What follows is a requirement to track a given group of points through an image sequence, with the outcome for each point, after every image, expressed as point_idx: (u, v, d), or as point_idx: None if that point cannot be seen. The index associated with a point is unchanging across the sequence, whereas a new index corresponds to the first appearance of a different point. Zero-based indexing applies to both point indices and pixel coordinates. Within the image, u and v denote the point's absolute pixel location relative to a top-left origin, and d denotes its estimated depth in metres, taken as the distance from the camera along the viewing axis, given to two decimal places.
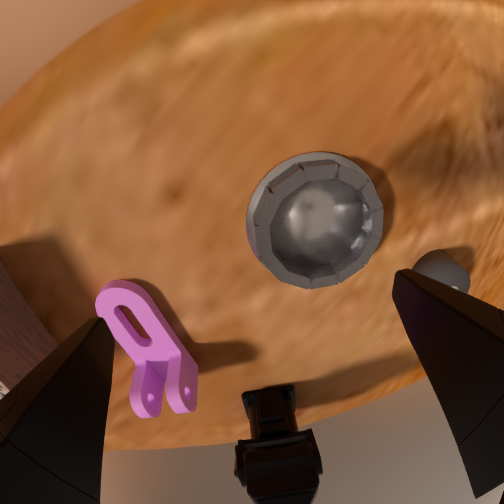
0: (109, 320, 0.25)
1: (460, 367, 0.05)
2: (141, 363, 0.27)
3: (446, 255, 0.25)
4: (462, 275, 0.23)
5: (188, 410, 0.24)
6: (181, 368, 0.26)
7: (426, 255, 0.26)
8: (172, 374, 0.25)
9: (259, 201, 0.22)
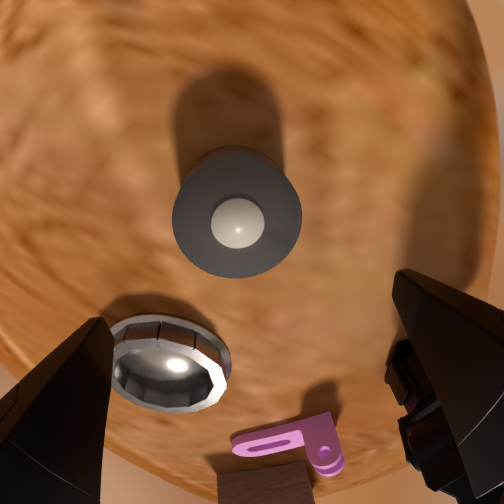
0: (261, 453, 0.32)
1: (460, 367, 0.05)
2: None
3: None
4: (186, 206, 0.13)
5: (331, 463, 0.24)
6: (306, 442, 0.27)
7: None
8: None
9: None
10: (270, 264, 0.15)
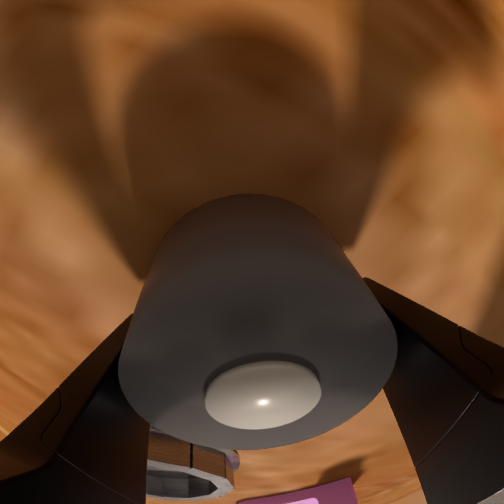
0: None
1: (413, 387, 0.05)
2: None
3: None
4: (146, 372, 0.05)
5: None
6: None
7: None
8: None
9: None
10: (318, 432, 0.07)
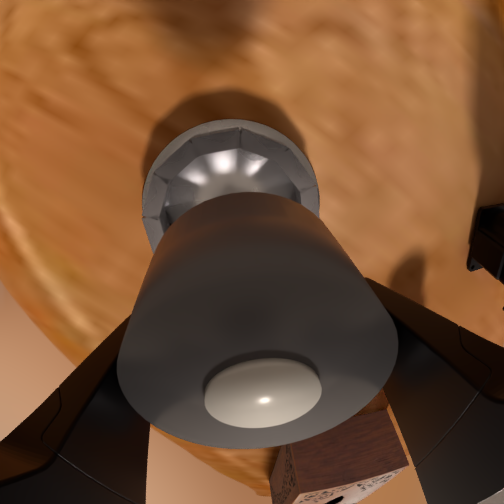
0: None
1: (413, 387, 0.05)
2: None
3: None
4: (145, 370, 0.05)
5: None
6: None
7: None
8: None
9: None
10: (318, 431, 0.07)
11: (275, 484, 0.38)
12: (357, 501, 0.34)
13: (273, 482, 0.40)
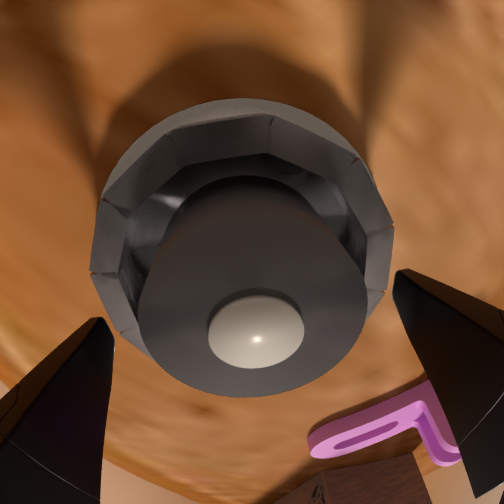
0: (350, 449, 0.20)
1: (460, 367, 0.05)
2: (416, 424, 0.19)
3: None
4: (161, 308, 0.07)
5: None
6: (435, 416, 0.15)
7: None
8: (434, 428, 0.15)
9: None
10: (306, 379, 0.09)
11: None
12: None
13: None
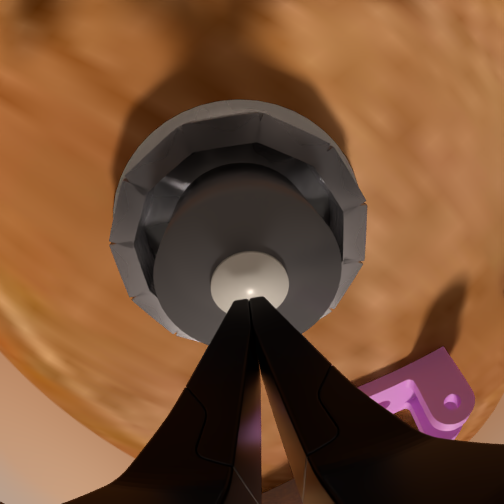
0: None
1: (281, 423, 0.05)
2: (408, 405, 0.21)
3: None
4: (173, 262, 0.09)
5: (466, 417, 0.14)
6: (424, 394, 0.17)
7: None
8: (424, 406, 0.17)
9: None
10: None
11: None
12: None
13: None
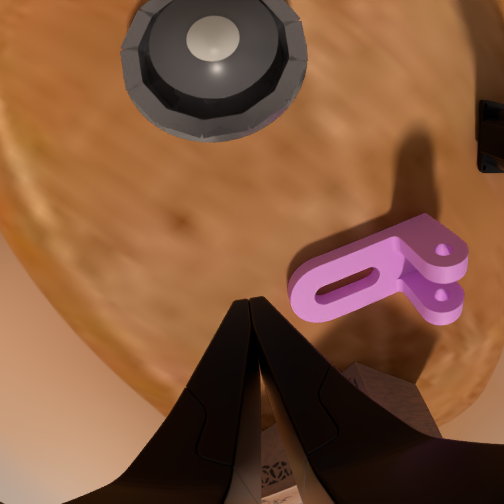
0: (334, 310, 0.23)
1: (281, 423, 0.05)
2: (401, 284, 0.22)
3: None
4: (164, 26, 0.10)
5: (462, 261, 0.15)
6: (411, 245, 0.18)
7: None
8: (414, 260, 0.18)
9: None
10: (248, 82, 0.12)
11: None
12: None
13: None
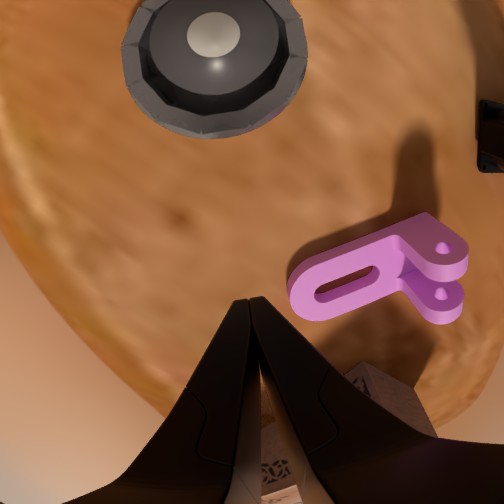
0: (334, 309, 0.23)
1: (281, 423, 0.05)
2: (401, 283, 0.22)
3: None
4: (165, 22, 0.10)
5: (463, 259, 0.15)
6: (411, 243, 0.18)
7: None
8: (414, 258, 0.18)
9: None
10: (248, 78, 0.12)
11: None
12: None
13: None
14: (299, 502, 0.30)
